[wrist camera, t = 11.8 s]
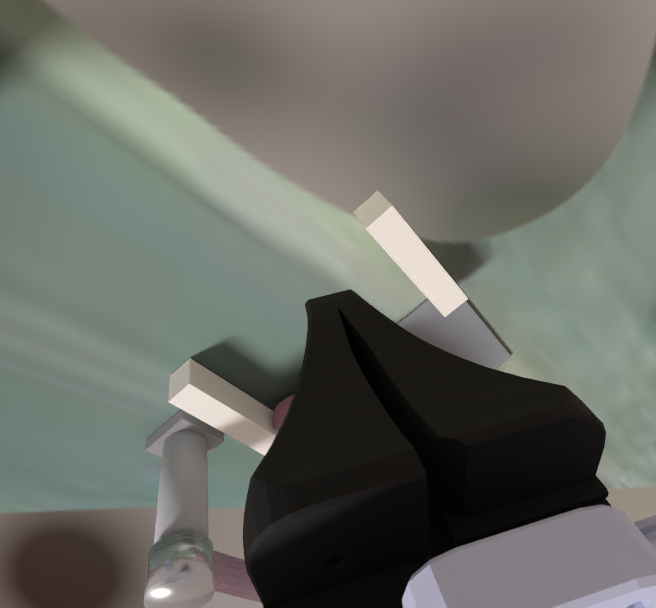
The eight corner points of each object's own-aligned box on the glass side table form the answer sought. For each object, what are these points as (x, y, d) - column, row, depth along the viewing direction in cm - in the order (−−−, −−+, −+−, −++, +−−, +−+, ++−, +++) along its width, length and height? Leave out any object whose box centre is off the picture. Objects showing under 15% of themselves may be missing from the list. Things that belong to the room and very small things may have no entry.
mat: (289, 410, 28) (289, 412, 27) (449, 281, 25) (450, 282, 25) (366, 461, 32) (367, 463, 32) (510, 355, 29) (511, 356, 29)
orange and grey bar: (135, 561, 20) (129, 608, 19) (174, 526, 20) (172, 572, 18) (328, 612, 27) (336, 650, 26) (363, 587, 27) (373, 625, 25)
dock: (115, 424, 25) (92, 538, 20) (377, 190, 21) (437, 251, 16) (213, 471, 29) (216, 578, 23) (450, 279, 25) (519, 354, 20)
